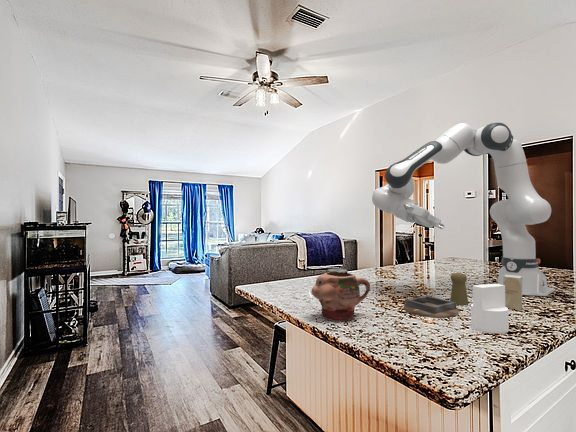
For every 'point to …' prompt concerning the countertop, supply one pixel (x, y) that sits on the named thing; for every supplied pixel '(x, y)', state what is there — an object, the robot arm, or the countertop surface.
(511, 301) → the box
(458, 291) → the cork
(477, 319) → the base with upright slab
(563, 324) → the countertop surface
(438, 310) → the base
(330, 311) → the sculpted clay mug
